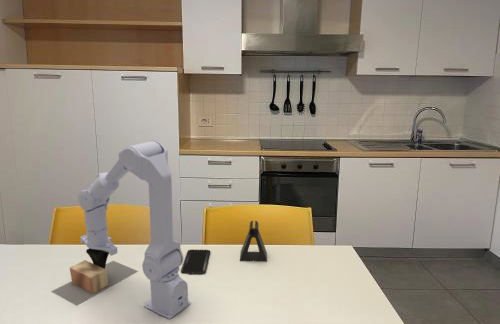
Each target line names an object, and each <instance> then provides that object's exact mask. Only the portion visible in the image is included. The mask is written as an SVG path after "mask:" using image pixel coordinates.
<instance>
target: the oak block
mask: <svg viewBox="0 0 500 324" xmlns="http://www.w3.org/2000/svg"><path fill="white" fill-rule="evenodd" d="M69 272H70V278H71V281H72V283H73V284H75V285H77V286H79V287H81V288H83V289H85V290H87V291H89V292H91V293H93V294H94V293H96V292H97V291H99V290H101V289H102V288H104V287H106V286H107V285H108V278H107V271H106V269H104V268H102V267H99V266H97V265H95V264H93V262H90V261H88V260H86V259H85V260H83V261H81V262H78V263H77V264H75V265H72V266H70V267H69Z"/></svg>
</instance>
